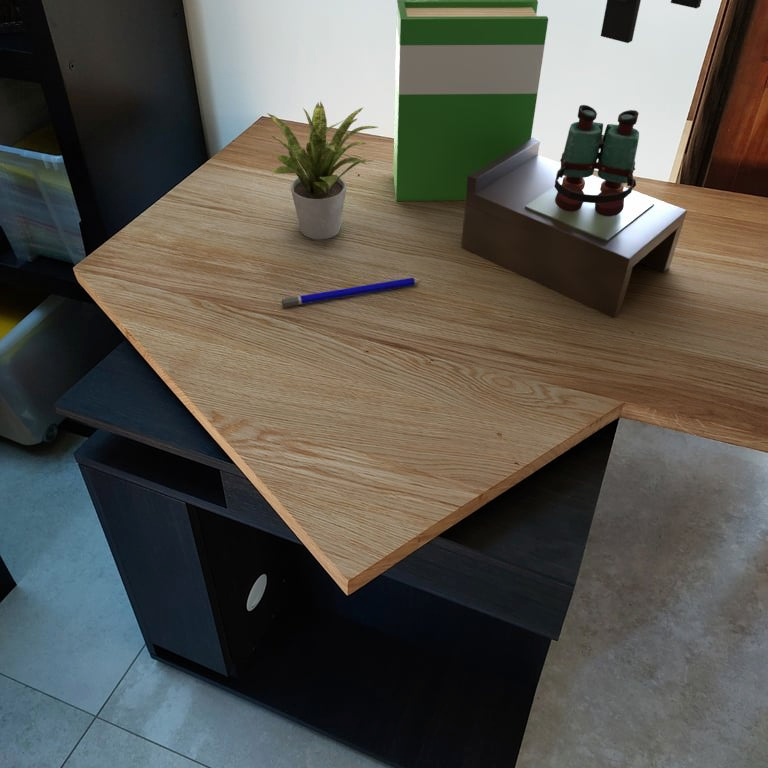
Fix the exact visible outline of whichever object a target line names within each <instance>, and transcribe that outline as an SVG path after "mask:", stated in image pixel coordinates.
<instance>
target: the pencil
mask: <svg viewBox="0 0 768 768" xmlns="http://www.w3.org/2000/svg"><path fill="white" fill-rule="evenodd" d="M421 281H422V279H419V278H416V277H407V278H400V279H394V280H389V281H383V282H376V283H371V284H364V285H358V286H353V287H346V288H341V289H334V290H327V291H322V292H316V293H310V294H304V295H297V296H291V297H285V298H282V299H281V305H282V307H284V308H287V307H291V306H297V305H303V304H309V303H315V302H322V301H327V300H335V299H340V298H347V297H353V296H358V295H363V294H369V293H376V292H382V291H388V290H393V289H401V288H406V287H412V286H415V285H416V284H418V283H419V282H421Z"/></svg>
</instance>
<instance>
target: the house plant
mask: <svg viewBox="0 0 768 768" xmlns="http://www.w3.org/2000/svg"><path fill="white" fill-rule="evenodd" d="M364 108H365V107H364V106H363V107H361V108H358V109H356V110H354V111H353V112H352V113H350V114H349V115H348V116H347V117H346V118H345V119H343V120H341V121H340V122H337V123H335V124H332V125H330V126H329V127H328V121H327V116H326V110H325V107H324V105H323V103H322V101H320V102H317V103H316V105H315V107H314V109H313V113H312V117H310V115H309V113H308V112H307V110H306V109H305V108H304V107H302V109H303V111H304V114H305V116H306V119H307V122H308V123H307V124H308V127H309V130H310V133H309V141H308V142H307V143H306V147H305V148H302V146H301V144H300V143H299V140H298V139H297V137H296V136H295V134H294V132H293V131H292V129H291V128H290V127H289V126H288V125H287V124H286V123H284V122H283V121H282V120H281V119H279V118H278V117H277V116H276V115H273V114H270V113H268V112H267V111H266V114H267V115H268V116H269V117H270V118H271V119H272V120H273V122H275V124H276V125H277V127H278V128H279V129H280V131H281V132H282V134H283V135H284V136H285V138H286V140H287V143H286V142H285V141H284V140H282V139H281V138H280V137H277V136H274V135H271V137H272V138H273V139H274V140H276V141H278V142H279V143H280V144H281V145H282V146H283V147H284V148H285V149H287V150H288V155H289V156H287V155H283V154H282V155H277V156H276V158H277V160H278V161H279V162H281V163H282V164H284V165H280V166H279V167H277V168H276V169H275V170H274V171H273V172H272V174H271V175H272V176H273V175H275V174H277V175H278V174H295V175H296V179H294V180H293V181H292V182H291V184H290V192H291V196H292V200H293V205H294V208H295V212H296V216H297V220H298V225H299V229H300V232H301V234H302V235H304V236H306V237H307V238H309V239H312V240H326V239H330V238H333V237H335V236H337V235H338V234H339V233H340V231H341V227H342V226H341V225H342V219H343V212H344V207H345V206H344V205H345V200H346V193H347V183H346V181H345V180H344V179H343V178H342V177H343V176H344V175H345V174H346V173H347V172H349V171H350V170H351V169H352V168H354V167H355V166H357V165H359V164H364V165H366V162H373V160H371V159H361V158H358V157H353V156H352V157H347V158H344V159H342V160H339V159H340V158H341V157H342V155H344V153H345V152H346V151H348V150H349V149H351V148H352V147H355V146H356V145H367V143H366V142H362V141H355V142H352V143H350V144H349V145H347V146H346V147H345V146H343V145H344V144H345V142H346V141H347V140H349V138H351V137H352V136H354V135H355V134H357V133H359V132H360V131H364V130H367V129H376V128H377V129H378V126H374V125H373V126H372V125H364V126H359V127H355V128H354V129H353V130H350V131H349V132H348V133H347V134H346V132H347V131H348V130H349V129H350V127H351V125H352V124H353V123H354V122H356V121H357V120H358V118H355V117H356V116H357V115H358V114H359V113H361V111H362V110H363V109H364ZM354 118H355V119H354ZM339 124H341V125H339ZM338 125H339V127H338V128H337V129H336V132H335V133H334V135H333V136H332V138H331V141H330V142H328V141H327V133H328V131H330V130H331V129H333V128H334V127H336V126H338ZM345 134H346V135H345ZM350 163H351V165H350V166H348V167H347V168H346V169H345V170H343V172H342V173H341V174H340V175H337V174H334V173H335V171H336V170H338V169H339V168H340V167H342V166H344V165H346V164H350Z"/></svg>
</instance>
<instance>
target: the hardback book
mask: <svg viewBox="0 0 768 768" xmlns="http://www.w3.org/2000/svg"><path fill="white" fill-rule="evenodd" d="M538 5H539V1H538V0H396V27H395V28H396V31H395V79H394V81H395V83H394V122H393V123H394V125H393V128H394V130H393V170H392V171H393V174H392V176H393V185H394V194H395V195H394V196H395V201H396V202H432V201H433V202H436V201H437V202H438V201H439V202H440V201H443V202H444V201H466V189H467V178H468V175H470V174H472V173H473V172H475V171H477V170H478V169H480V168H482V167H484V166H485V165H487V164H489V163H490V162H492V161H494V160H496V159H497V158H499V157H501V156H502V155H504V154H506V153H508V152H509V151H511V150H513V149H514V148H516V147H518V146H520V145H521V144H523V143H525V142H526V141H528V140H530V139H532V133H533V128H534V127H533V126H534V121H535V120H534V119H535V112H536V106H537V101H538V92H539V87H540V79H541V72H542V67H543V59H544V51H545V45H546V38H547V33H548V32H547V31H548V24H549V17H548V16H547V15H537V12H538V7H539V6H538Z"/></svg>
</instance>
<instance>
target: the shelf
mask: <svg viewBox="0 0 768 768" xmlns="http://www.w3.org/2000/svg"><path fill="white" fill-rule="evenodd" d="M540 144H541V140H540V139H537V138H535V137H531V139H530V140H528V141H526V142H525V143H523V144H521V145H520V146H518V147H516V148H514V149H513V150H511V151H509V152H508V153H506V154H504V155H502V156H501V157H499V158H497V159H496V160H494V161H492V162H490V163H489V164H487V165H485V166H484V167H482V168H480V169H478V170H477V171H475V172H473V173H472V174H470V175H468V178H467V189H466V200H464V202H465V203H464V211H463V212H464V214H463V223H462V236H461V246H460V247H461V248H463V249H465V250H466V251H469V252H470V253H473V254H475V255H477V256H480V257H481V258H484V259H486V260H488V261H491V262H493V263H495V264H496V265H499V266H501V267H503V268H505V269H507V270H509V271H512V272H514V273H516V274H519V275H520V276H523V277H524V278H527V279H530V280H531V281H534V282H536V283H538V284H540V285H542V286H544V287H546V288H548V289H550V290H553V291H555V292H557V293H559V294H561V295H564V296H565V297H568V298H570V299H572V300H574V301H577V302H579V303H580V304H583V305H585V306H587V307H589V308H591V309H594V310H596V311H598V312H600V313H602V314H605V315H606V316H609V317H612V318H613V319H614V318H615V317H616V316H618V315H619V314H620V313H621V311H622V307H623V304H624V300H625V297H626V294H627V289H628V286H629V283H630V278H631V275H632V271H633V268H634V266H636V265H637V264H638V263H640V264H642V265H644V266H648V267H650V268H652V269H655V270H657V271H660V272H662V273H664V272H666V271H668V269H669V268H670V267H671V264H672V261H673V258H674V253H675V251H676V248H677V244H678V242H679V238H680V235H681V232H682V229H683V225H684V221H685V219H686V215H687V212H688V209H686V208H685V209H684V208H682V207H679V206H676V205H674V204H671V203H669V202H666V201H663V200H660V199H657V198H656V197H652V196H649V195H647V194H644V193H641V192H639V191H636V190H633V189H632V192H631V193H630V194H629V195H628V196H627V197H626V198H624V208H623V210H622V212H621V213H619V214H617V215H615V216H603V215H600V214H598V213H597V212H596V210H595V203H588V202H583V204H582V207H581V208H580V209H579V210H577V211H566V210H563V209H561V208H560V207H558V206H557V204H556V202H555V198H556V195H557V192H558V191H557V190H556V188H555V187H554V186H555V180H556V174H557V172H558V170H559V169H560V168H561V162H559V161H555V160H552V159H550V158H547V157H545V156H542V155H539V152H540ZM564 177H565V176H563V177H562V178H560V177H559V179H558V180H557V181H558V182H559V183H560V185H562V182H563V178H564ZM584 179H585V186H584V189H582V190H583V192H584V194H589V195H598V194H599V193H600V192H601V191H600V187H601V183H602V182H603V181H604V180H603V179H601V178H600V177H599V176H595V175H594V174H593V175H591V176H589V177H585V178H584ZM628 188H629V187H625V186H624V189H623V191H625V190H627V189H628Z"/></svg>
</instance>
